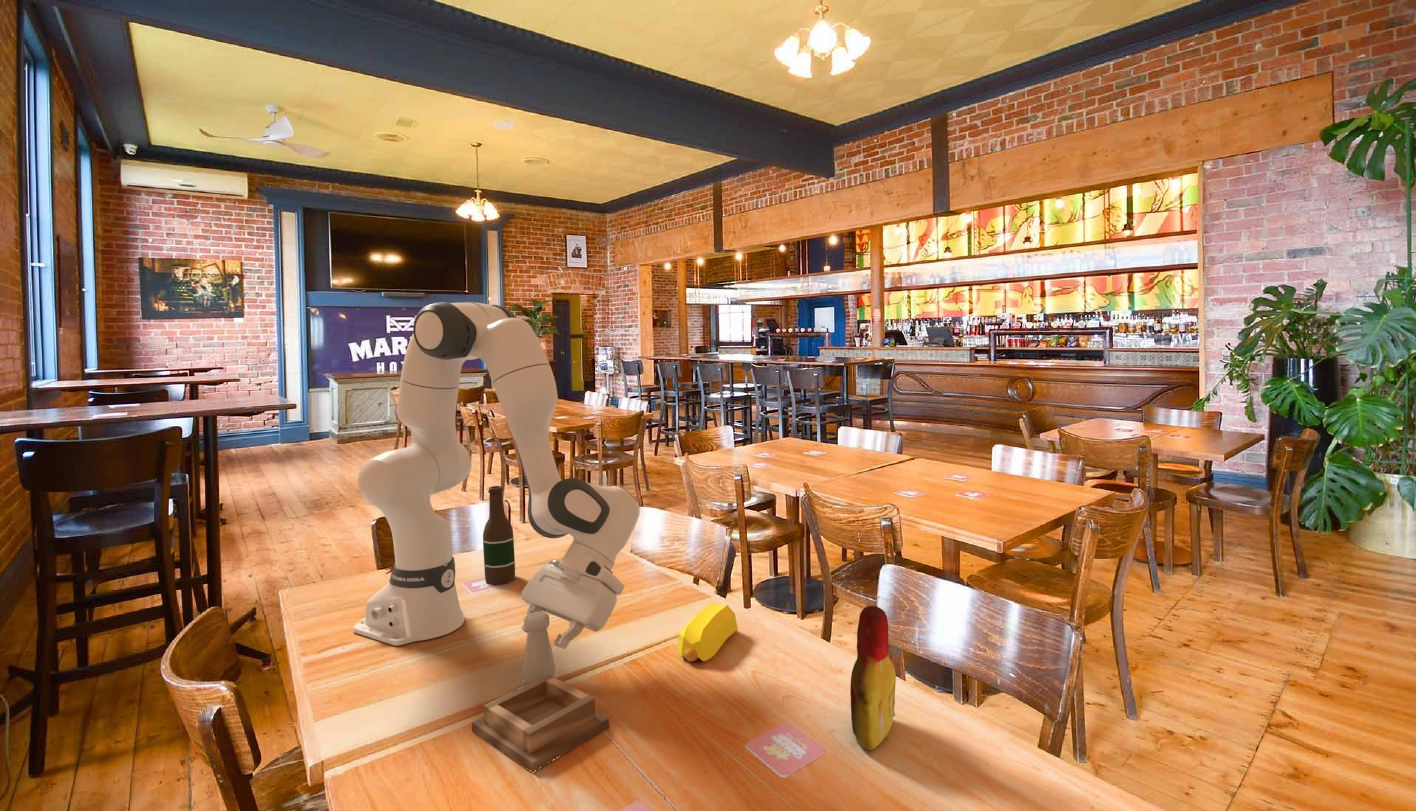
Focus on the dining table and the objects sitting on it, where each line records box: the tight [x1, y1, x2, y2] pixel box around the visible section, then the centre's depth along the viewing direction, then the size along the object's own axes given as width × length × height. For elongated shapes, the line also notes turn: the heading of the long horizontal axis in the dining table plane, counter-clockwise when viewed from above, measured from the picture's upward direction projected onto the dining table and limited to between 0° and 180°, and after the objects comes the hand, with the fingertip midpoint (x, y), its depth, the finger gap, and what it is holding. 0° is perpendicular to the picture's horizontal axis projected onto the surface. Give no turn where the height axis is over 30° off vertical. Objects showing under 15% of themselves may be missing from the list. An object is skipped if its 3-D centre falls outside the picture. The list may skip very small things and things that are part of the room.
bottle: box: [849, 605, 897, 751], centre depth 99 cm, size 12×6×20 cm, turn 152°
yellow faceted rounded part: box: [676, 602, 738, 663], centre depth 130 cm, size 18×7×8 cm
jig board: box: [471, 675, 610, 773], centre depth 103 cm, size 16×14×4 cm
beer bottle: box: [482, 485, 516, 586], centre depth 168 cm, size 8×8×24 cm
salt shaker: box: [521, 611, 557, 685], centre depth 116 cm, size 6×6×13 cm
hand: (542, 639), depth 116 cm, fingers open, 8 cm apart
